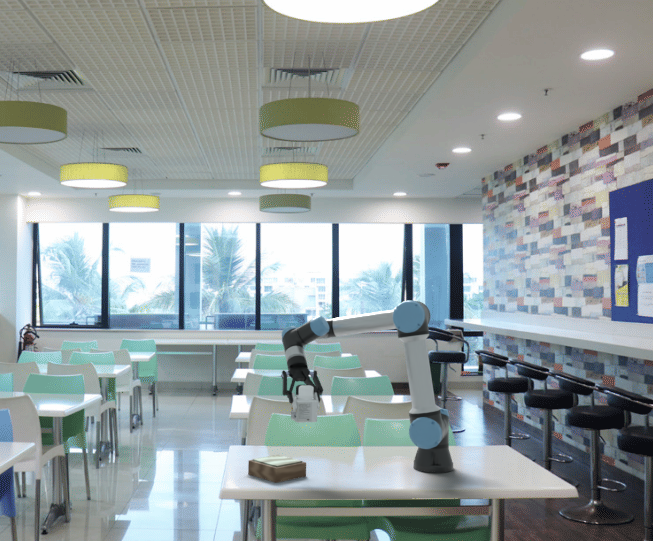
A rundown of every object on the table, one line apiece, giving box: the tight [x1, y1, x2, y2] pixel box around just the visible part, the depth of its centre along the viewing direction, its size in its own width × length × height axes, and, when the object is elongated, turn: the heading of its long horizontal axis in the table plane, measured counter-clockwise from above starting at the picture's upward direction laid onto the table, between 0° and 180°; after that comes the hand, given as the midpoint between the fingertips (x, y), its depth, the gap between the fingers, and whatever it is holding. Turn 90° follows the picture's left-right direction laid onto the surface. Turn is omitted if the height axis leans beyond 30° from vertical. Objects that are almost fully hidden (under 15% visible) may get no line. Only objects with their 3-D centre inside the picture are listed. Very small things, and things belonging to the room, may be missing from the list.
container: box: [290, 384, 318, 424], centre depth 251 cm, size 8×8×13 cm
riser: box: [247, 454, 307, 484], centre depth 249 cm, size 16×14×6 cm
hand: (306, 409), depth 247 cm, fingers closed on container, 8 cm apart
